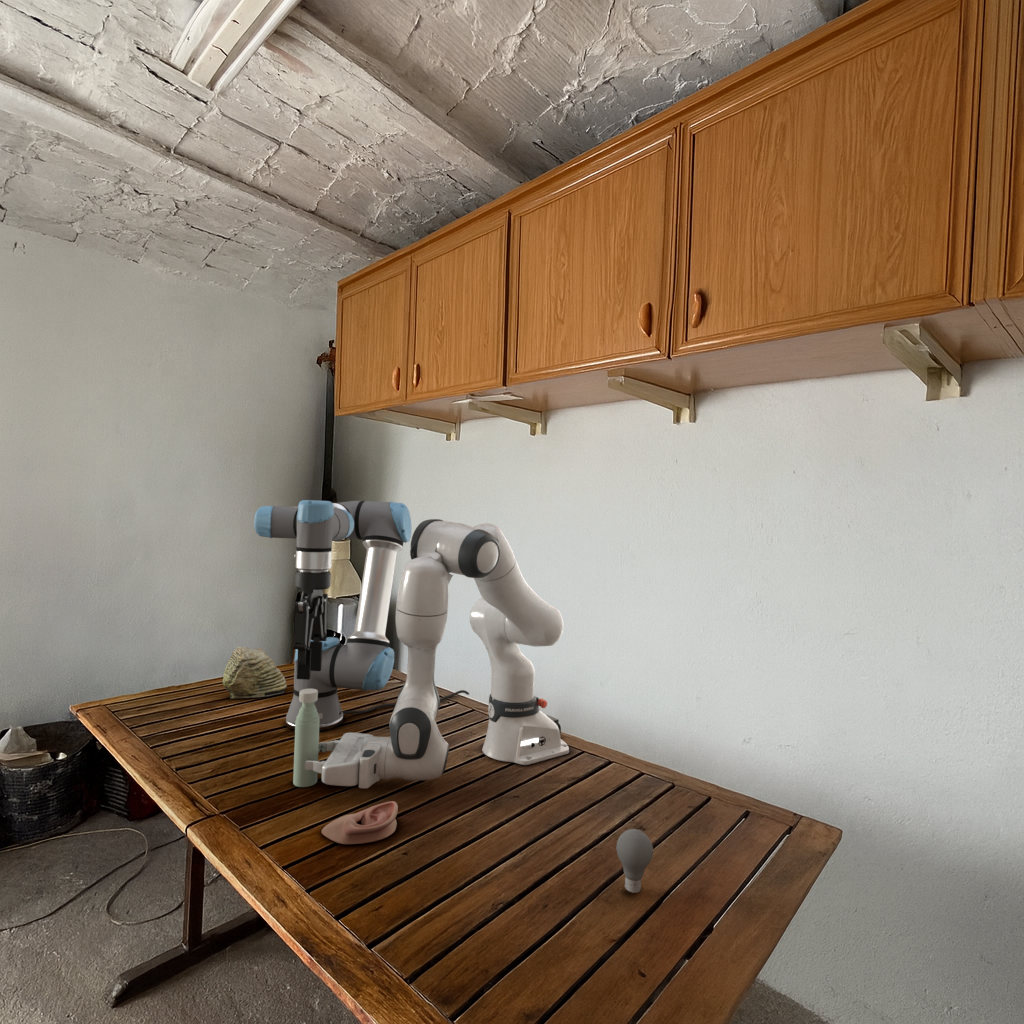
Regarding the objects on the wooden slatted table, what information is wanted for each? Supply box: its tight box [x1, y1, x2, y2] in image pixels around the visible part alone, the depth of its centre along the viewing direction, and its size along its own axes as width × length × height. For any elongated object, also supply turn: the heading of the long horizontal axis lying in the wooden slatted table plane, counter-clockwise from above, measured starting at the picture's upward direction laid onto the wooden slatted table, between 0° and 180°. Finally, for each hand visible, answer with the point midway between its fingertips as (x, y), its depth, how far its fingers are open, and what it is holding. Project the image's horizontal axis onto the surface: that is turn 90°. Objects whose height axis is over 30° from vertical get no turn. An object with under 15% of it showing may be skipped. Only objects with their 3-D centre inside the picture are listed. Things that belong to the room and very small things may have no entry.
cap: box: [299, 689, 318, 703], centre depth 140 cm, size 4×4×2 cm
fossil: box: [222, 646, 288, 699], centre depth 198 cm, size 9×18×15 cm, turn 132°
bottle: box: [292, 702, 320, 788], centre depth 140 cm, size 5×5×20 cm
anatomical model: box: [321, 800, 399, 845], centre depth 121 cm, size 13×4×12 cm
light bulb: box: [615, 828, 654, 894], centre depth 106 cm, size 6×6×10 cm
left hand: (309, 674), depth 140 cm, fingers open, 6 cm apart
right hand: (312, 755), depth 140 cm, fingers open, 8 cm apart
